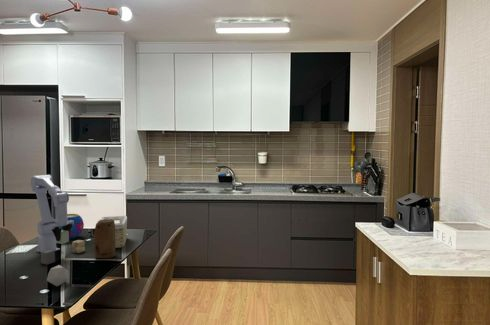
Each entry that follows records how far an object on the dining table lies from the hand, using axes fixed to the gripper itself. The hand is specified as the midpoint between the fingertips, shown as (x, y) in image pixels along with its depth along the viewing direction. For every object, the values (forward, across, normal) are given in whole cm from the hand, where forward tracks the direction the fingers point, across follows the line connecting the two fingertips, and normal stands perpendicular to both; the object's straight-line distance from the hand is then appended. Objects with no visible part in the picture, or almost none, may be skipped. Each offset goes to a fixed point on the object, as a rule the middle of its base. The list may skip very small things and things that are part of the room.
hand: (62, 239), depth 198 cm
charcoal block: (+10, -10, -1) cm, 14 cm away
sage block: (+2, 0, 0) cm, 2 cm away
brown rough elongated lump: (+10, +8, -22) cm, 25 cm away
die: (+10, -29, -30) cm, 43 cm away
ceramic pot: (+10, +29, +27) cm, 41 cm away
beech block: (+10, +10, -1) cm, 14 cm away
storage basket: (+10, +30, -8) cm, 33 cm away
